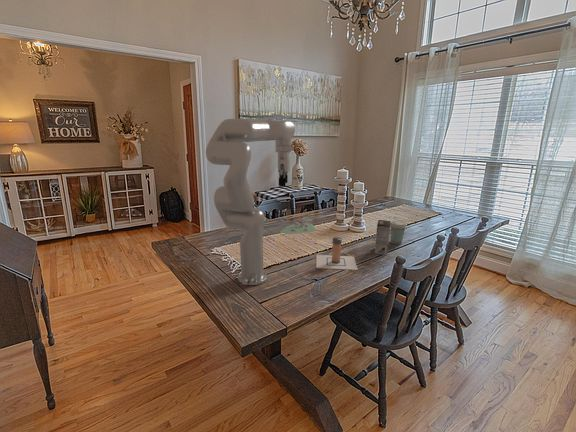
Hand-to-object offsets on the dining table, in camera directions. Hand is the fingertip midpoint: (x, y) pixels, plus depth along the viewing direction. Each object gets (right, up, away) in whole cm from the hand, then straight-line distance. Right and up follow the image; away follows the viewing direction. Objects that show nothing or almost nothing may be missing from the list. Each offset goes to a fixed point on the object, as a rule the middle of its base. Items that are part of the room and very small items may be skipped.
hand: (283, 184), depth 150 cm
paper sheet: (+26, -38, -1) cm, 46 cm away
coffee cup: (+65, -31, +25) cm, 76 cm away
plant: (+9, -25, +48) cm, 55 cm away
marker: (+26, -38, -1) cm, 46 cm away
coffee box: (+52, -35, +13) cm, 64 cm away
